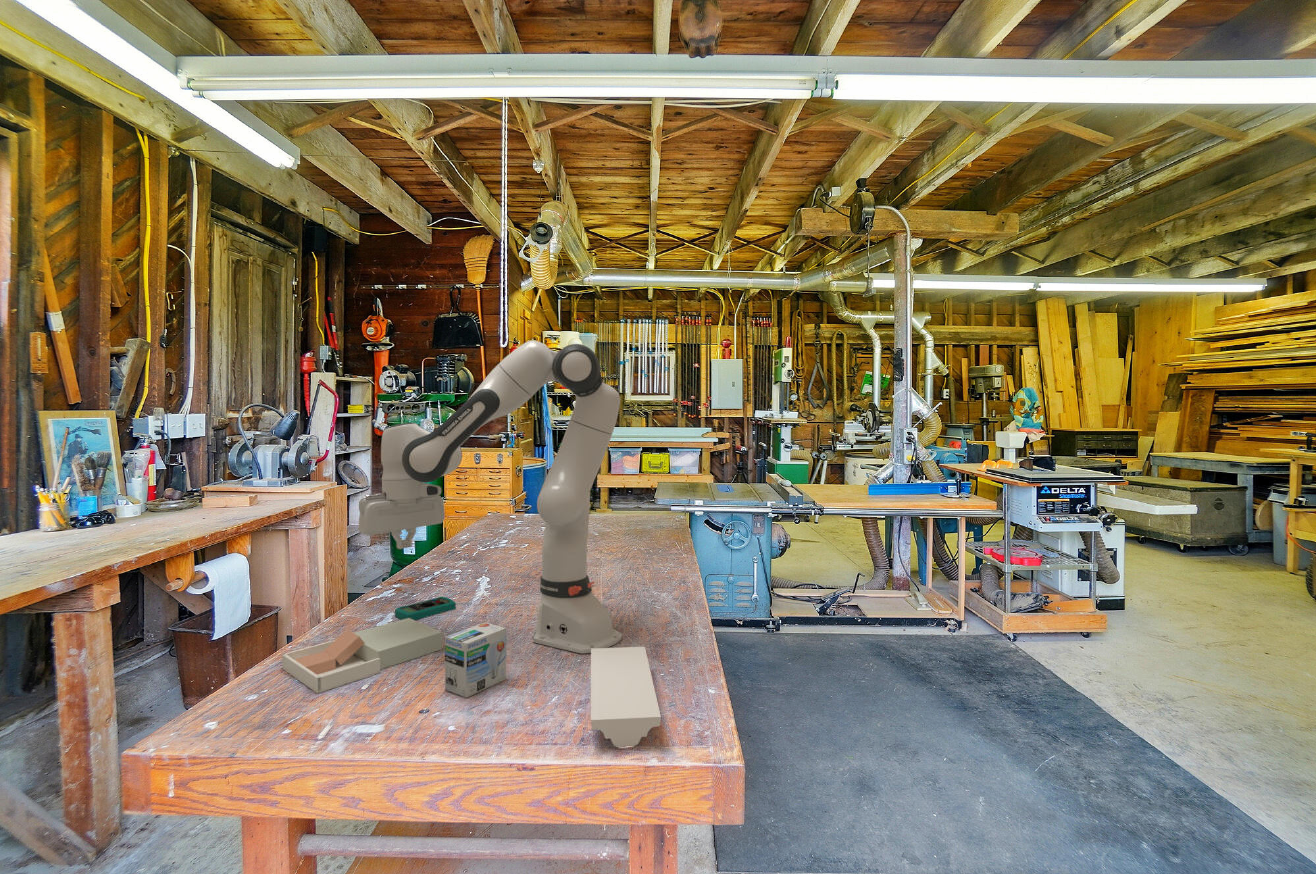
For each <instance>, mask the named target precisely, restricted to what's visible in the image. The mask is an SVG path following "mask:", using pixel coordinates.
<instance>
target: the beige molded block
mask: <svg viewBox="0 0 1316 874" xmlns="http://www.w3.org/2000/svg"><path fill="white" fill-rule="evenodd" d="M650 668H651V667H650V664H649V660H648V655H647V651H646V647H645V646H631V647H630V646H628V647H607V648H593V649H591V653H590V723H591V725H590V727H591V730H593V731H594V730H598V731H600V732H602V733H603V737H604V739H608V740H610V741H611V743H612V744H613V746H614V747H615V748H617V747H626V746H635V745H636V746H637V745H638V744H639V743H640V741H641V740H642V738H644V737H645V738H646V737H648V734H649V731H650V730H651V729H653V728H654V727H655V728H657V727H661V719H662V718H661V717H662V716H661V711H660V708H659V703H658V699H657V693H656V690H655V686H654V682H653V677H652V673H651V669H650ZM636 746H635V747H636Z"/></svg>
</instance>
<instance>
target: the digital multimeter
mask: <svg viewBox="0 0 1316 874" xmlns="http://www.w3.org/2000/svg"><path fill="white" fill-rule="evenodd" d="M456 604H457V603H456V602H455V601H454V600H453V599H451V598H449V597H446V596H438V597H435V598H431V599H427V600H424V601H420V602H416V603H412V604H406V605H403V606H399V607H397V608H396V609H394V617H396V618H398V619H399V620H403V619H407V618H410V619H413V620H415V621H418V620H421V618H422V619H424V617H425V618H428V617H431V615H432V616H434V614H435V615H439V614H442V613H441V612H443V613H446V611H447V612H450V611H454V610H456ZM449 610H450V611H449ZM427 616H428V617H427Z"/></svg>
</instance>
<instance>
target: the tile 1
mask: <svg viewBox="0 0 1316 874" xmlns="http://www.w3.org/2000/svg"><path fill="white" fill-rule="evenodd" d="M294 660H295V661H297V662H298V663H300V664H302V665H303V666H305V667H306V668H308V669H309V670H311V671H312V672H314V673H315V674H320V673H324V672H327V671H331V670H334V669H336V665H335V658H334V657H332V656H331V655H329V654H328V653H326V652H325V651H323V652H320V653H316V654H312V655H308V656H305V657H301V658H297V659H294Z"/></svg>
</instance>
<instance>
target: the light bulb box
mask: <svg viewBox="0 0 1316 874" xmlns="http://www.w3.org/2000/svg"><path fill="white" fill-rule="evenodd" d="M444 674H445V675H444V690H445V691H448V692H450V693H453V694H456V695H458V696H460V697H464V698H469V697H472V696H474V695H476V694H478V693H480V692H482V691H484V690H486V689H488V688H490V687H492V686H495V685H497V684H499V683H501V682H503V681H505V680H506V679H507V628H506V627H503V626H500V625H496V624H493V623H490V622H482V623H479V624H476V625H473V626H471V627H468V628H465V629H463V630H460V631H458V632H455V633H452V634H450V635H447V636H445V637H444Z"/></svg>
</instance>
